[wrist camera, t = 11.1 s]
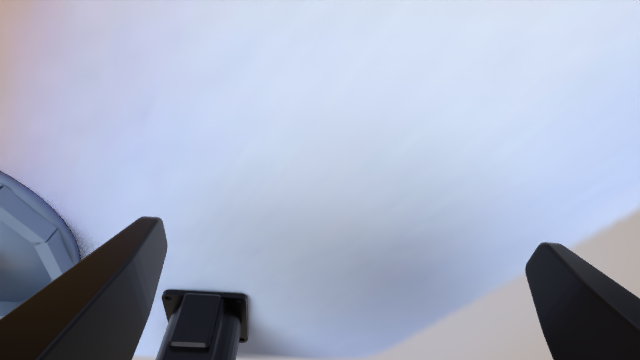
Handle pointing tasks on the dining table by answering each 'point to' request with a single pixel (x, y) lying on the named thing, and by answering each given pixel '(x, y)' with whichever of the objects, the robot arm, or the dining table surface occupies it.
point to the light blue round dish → (30, 244)
